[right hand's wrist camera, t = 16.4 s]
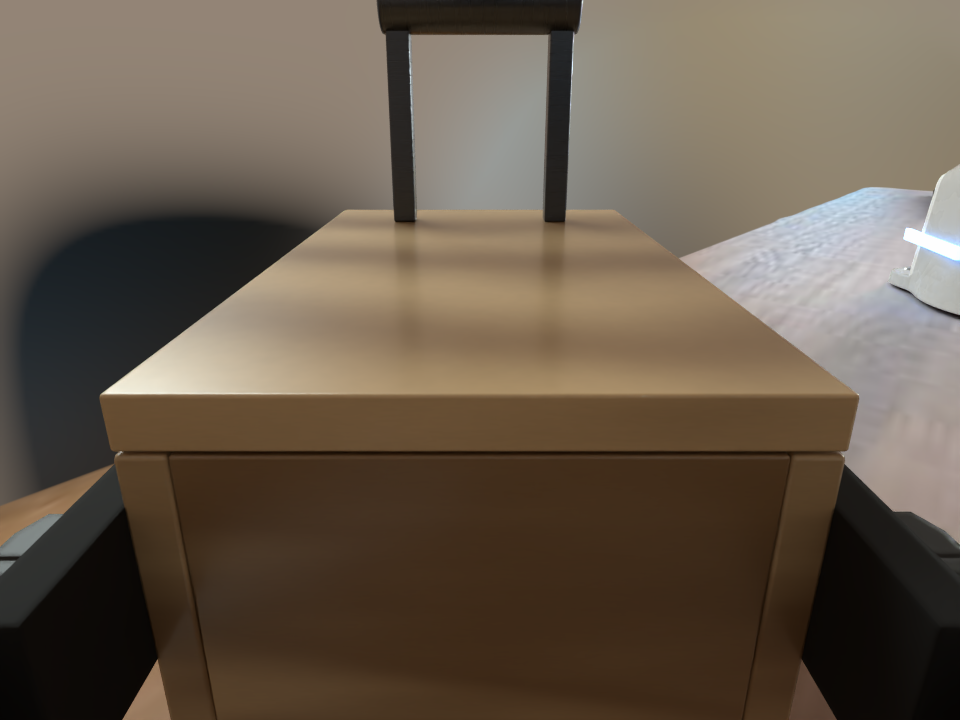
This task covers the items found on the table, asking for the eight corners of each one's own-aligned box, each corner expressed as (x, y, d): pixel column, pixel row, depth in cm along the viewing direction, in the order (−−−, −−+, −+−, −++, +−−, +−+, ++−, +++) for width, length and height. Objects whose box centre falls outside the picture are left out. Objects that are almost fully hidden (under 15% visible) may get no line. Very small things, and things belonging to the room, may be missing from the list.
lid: (346, 232, 25) (328, -19, 22) (613, 232, 25) (631, -19, 22) (109, 452, 9) (-68, -350, 6) (848, 453, 9) (1026, -351, 6)
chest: (356, 453, 27) (341, 239, 24) (602, 453, 27) (618, 239, 24) (203, 882, 12) (108, 456, 9) (755, 882, 12) (850, 457, 9)
